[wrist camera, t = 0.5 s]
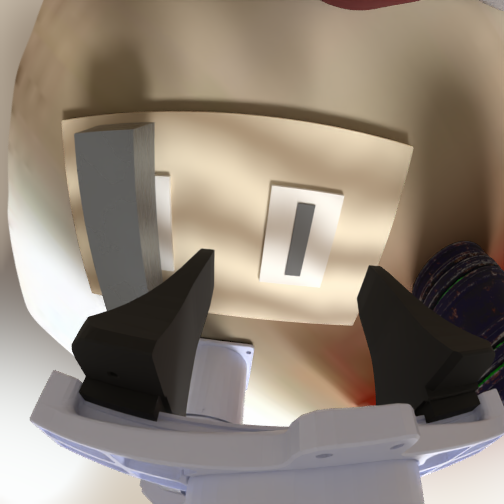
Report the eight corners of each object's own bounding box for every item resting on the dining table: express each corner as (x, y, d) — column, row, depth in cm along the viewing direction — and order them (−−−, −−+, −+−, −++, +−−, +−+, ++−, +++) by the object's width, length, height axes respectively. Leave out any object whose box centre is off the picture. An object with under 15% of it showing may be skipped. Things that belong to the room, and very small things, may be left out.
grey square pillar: (172, 311, 25) (159, 346, 21) (133, 304, 25) (116, 337, 21) (162, 119, 16) (133, 129, 12) (110, 121, 16) (74, 133, 12)
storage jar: (446, 226, 20) (546, 357, 7) (499, 254, 21) (573, 356, 8) (393, 310, 25) (439, 447, 13) (451, 322, 26) (497, 428, 13)
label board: (350, 319, 26) (353, 328, 25) (95, 288, 26) (90, 295, 25) (408, 144, 17) (416, 148, 16) (67, 119, 17) (58, 121, 16)
